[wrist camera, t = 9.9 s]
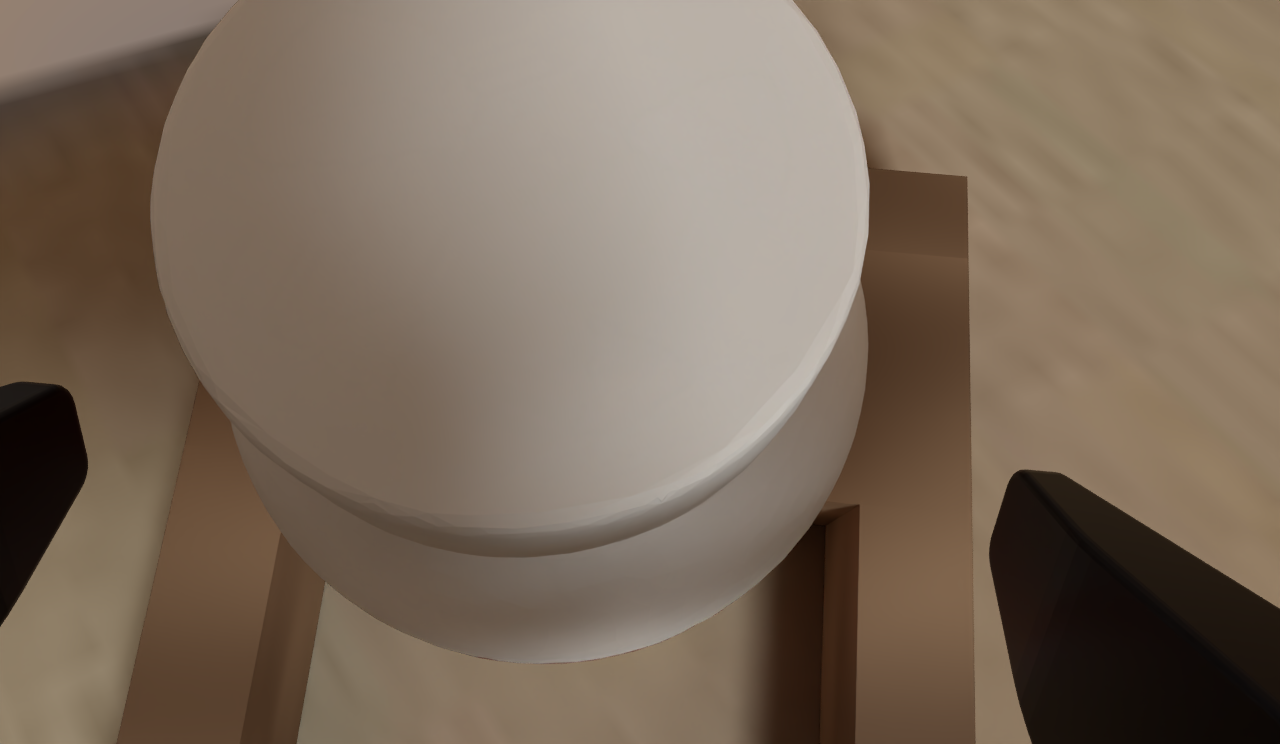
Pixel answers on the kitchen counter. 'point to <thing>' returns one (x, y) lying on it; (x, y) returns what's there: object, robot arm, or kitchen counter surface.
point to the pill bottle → (524, 301)
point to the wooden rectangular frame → (853, 515)
